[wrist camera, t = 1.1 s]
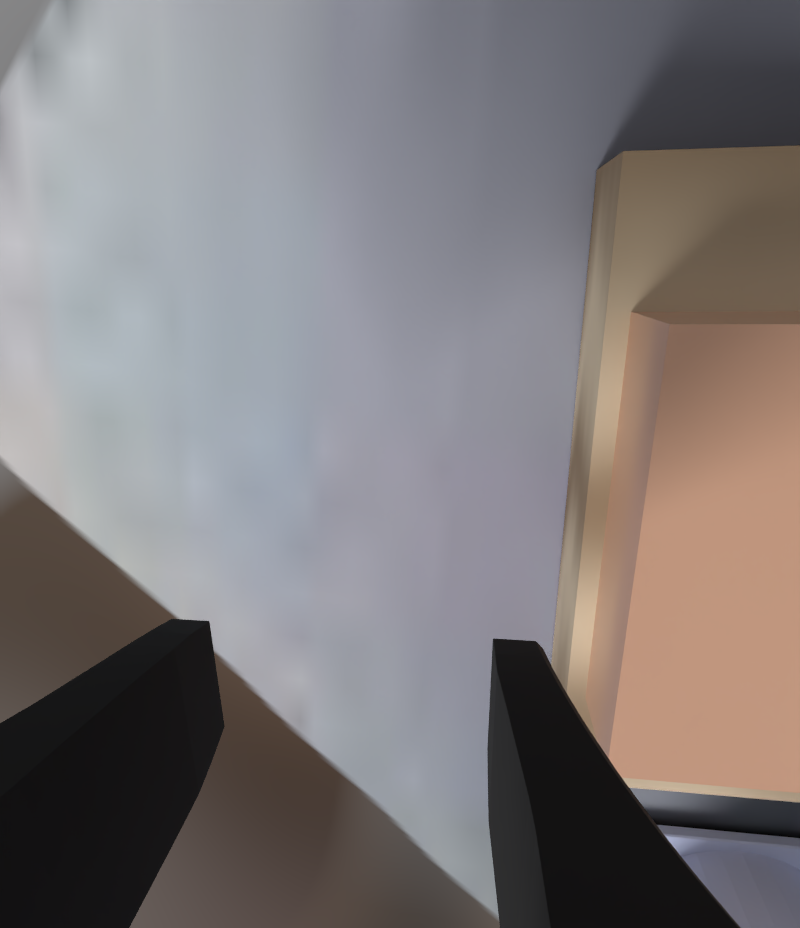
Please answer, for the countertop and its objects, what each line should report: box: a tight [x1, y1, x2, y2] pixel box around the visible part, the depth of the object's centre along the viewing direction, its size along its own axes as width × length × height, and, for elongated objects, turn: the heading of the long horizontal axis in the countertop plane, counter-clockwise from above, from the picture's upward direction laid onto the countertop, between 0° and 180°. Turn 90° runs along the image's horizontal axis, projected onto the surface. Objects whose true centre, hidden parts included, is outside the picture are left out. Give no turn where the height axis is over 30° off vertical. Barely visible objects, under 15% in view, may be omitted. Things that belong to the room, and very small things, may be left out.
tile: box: [585, 311, 800, 793], centre depth 12 cm, size 10×7×2 cm
